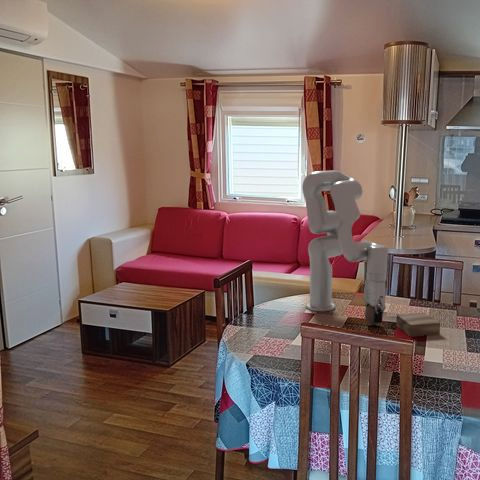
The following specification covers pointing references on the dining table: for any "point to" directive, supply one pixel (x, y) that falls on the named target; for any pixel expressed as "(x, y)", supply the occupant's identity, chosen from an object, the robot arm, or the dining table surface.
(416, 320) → the walnut block
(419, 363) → the dining table surface
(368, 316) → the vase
